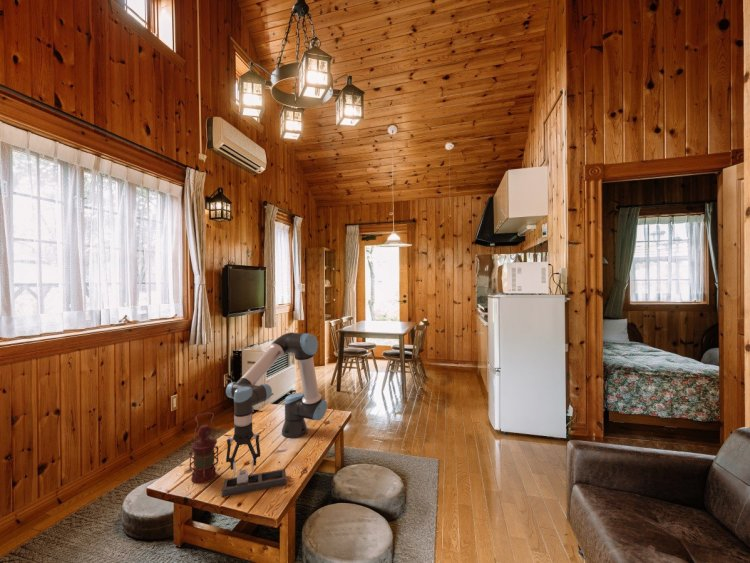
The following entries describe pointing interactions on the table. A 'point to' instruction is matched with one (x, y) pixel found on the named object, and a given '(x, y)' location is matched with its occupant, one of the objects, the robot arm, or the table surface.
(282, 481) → the dark grey divided frame
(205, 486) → the table surface
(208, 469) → the lantern
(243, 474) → the block
